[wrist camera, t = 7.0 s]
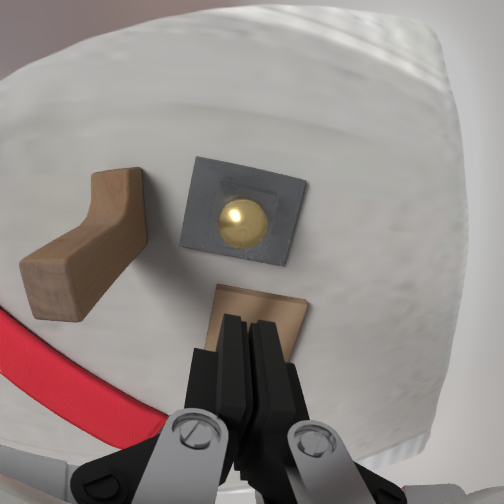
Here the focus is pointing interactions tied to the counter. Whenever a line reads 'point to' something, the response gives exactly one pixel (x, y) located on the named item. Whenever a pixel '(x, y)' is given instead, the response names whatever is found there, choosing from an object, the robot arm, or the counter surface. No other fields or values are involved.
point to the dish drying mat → (73, 390)
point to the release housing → (232, 187)
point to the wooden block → (88, 250)
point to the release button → (242, 223)
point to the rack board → (257, 313)
